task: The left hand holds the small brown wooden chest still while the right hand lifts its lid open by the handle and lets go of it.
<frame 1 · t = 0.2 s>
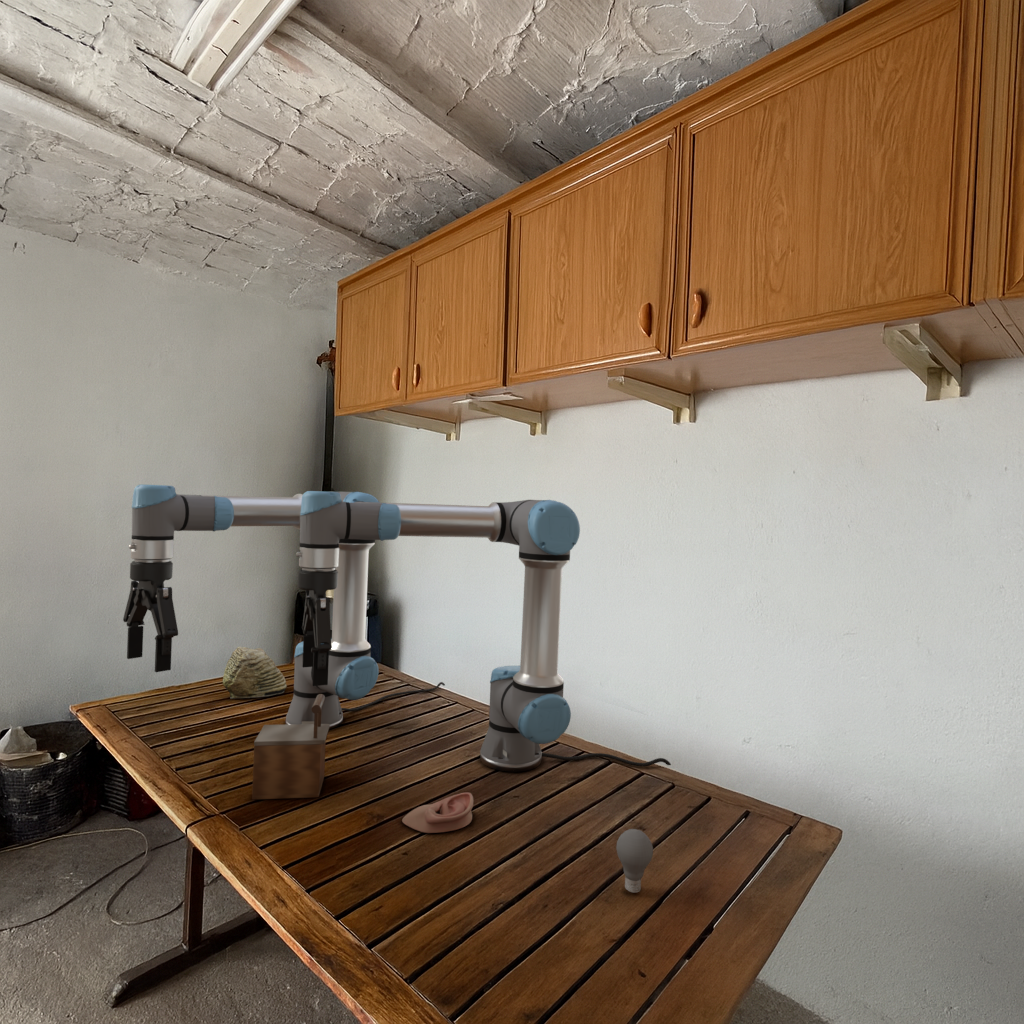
left hand: (148, 664, 129), 28 cm above the table, tool pointing down, fingers open, 13 cm apart
right hand: (314, 675, 126), 28 cm above the table, tool pointing down, fingers open, 13 cm apart
light bulb: (632, 891, 106), on the table
chest: (289, 787, 137), on the table
lid: (294, 717, 137), point 15 cm above the table, hinge at 0.0°
anatomical model: (438, 820, 126), on the table
fossil: (254, 694, 198), on the table
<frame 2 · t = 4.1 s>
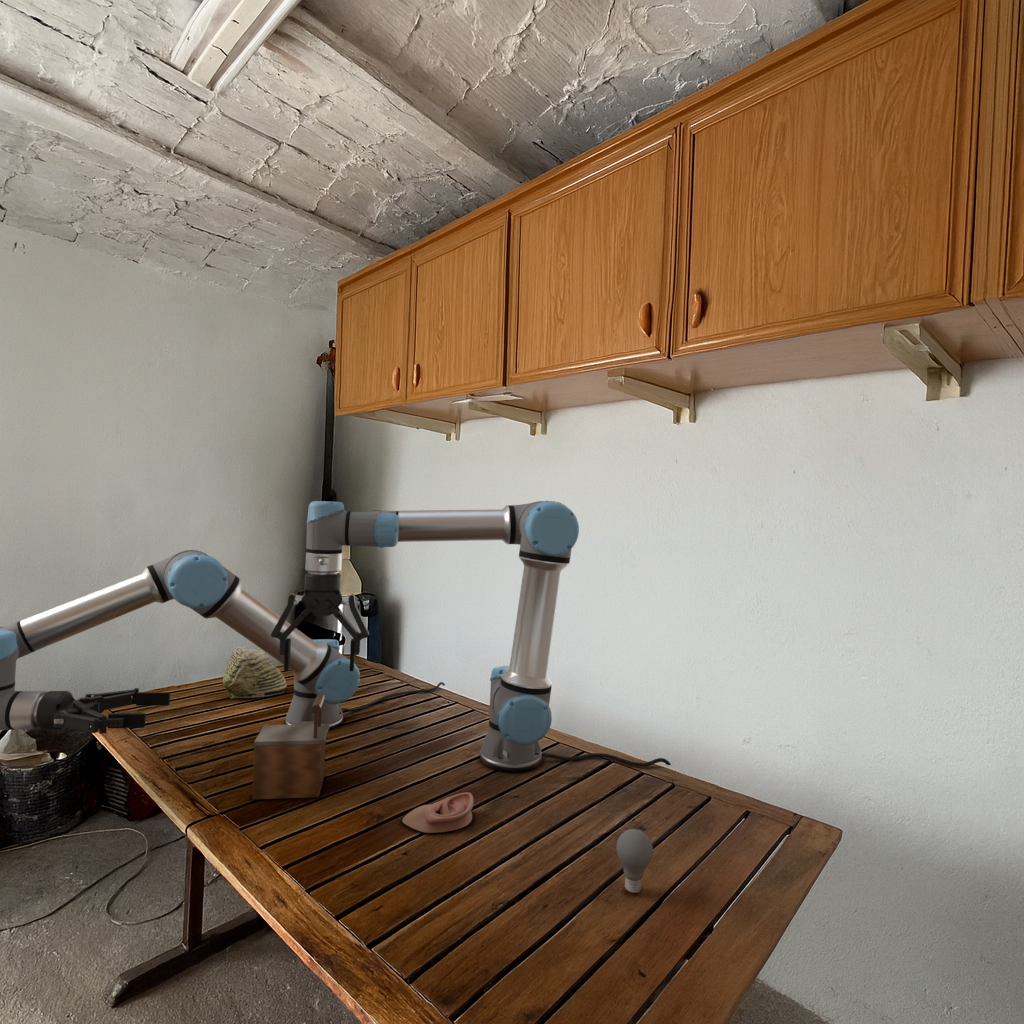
left hand: (157, 709, 132), 18 cm above the table, tool horizontal, fingers open, 13 cm apart
right hand: (319, 669, 138), 26 cm above the table, tool pointing down, fingers open, 13 cm apart
nothing on the table moved.
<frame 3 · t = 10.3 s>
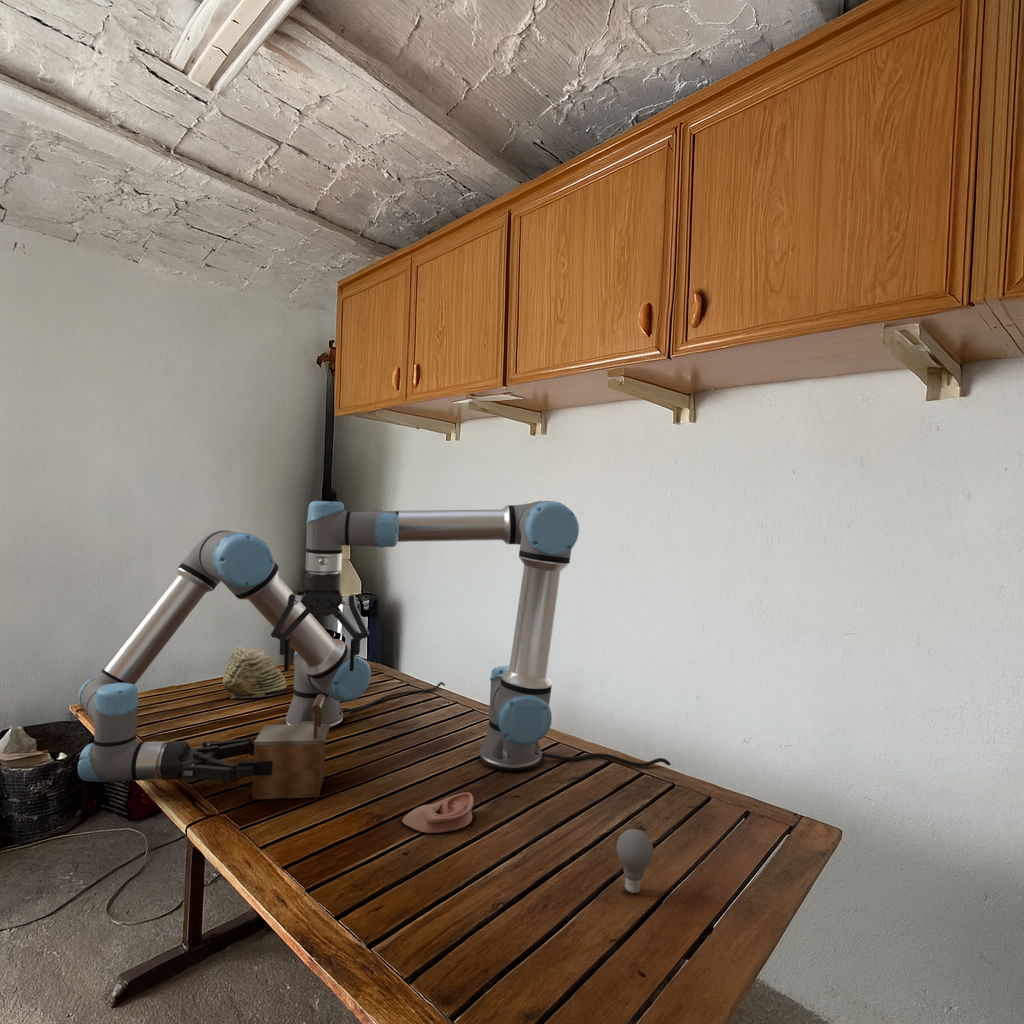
left hand: (276, 757, 137), 7 cm above the table, tool horizontal, fingers closed on chest, 10 cm apart
right hand: (319, 669, 138), 26 cm above the table, tool pointing down, fingers open, 13 cm apart
chest: (289, 787, 137), on the table, touching left hand
everything else where it was.
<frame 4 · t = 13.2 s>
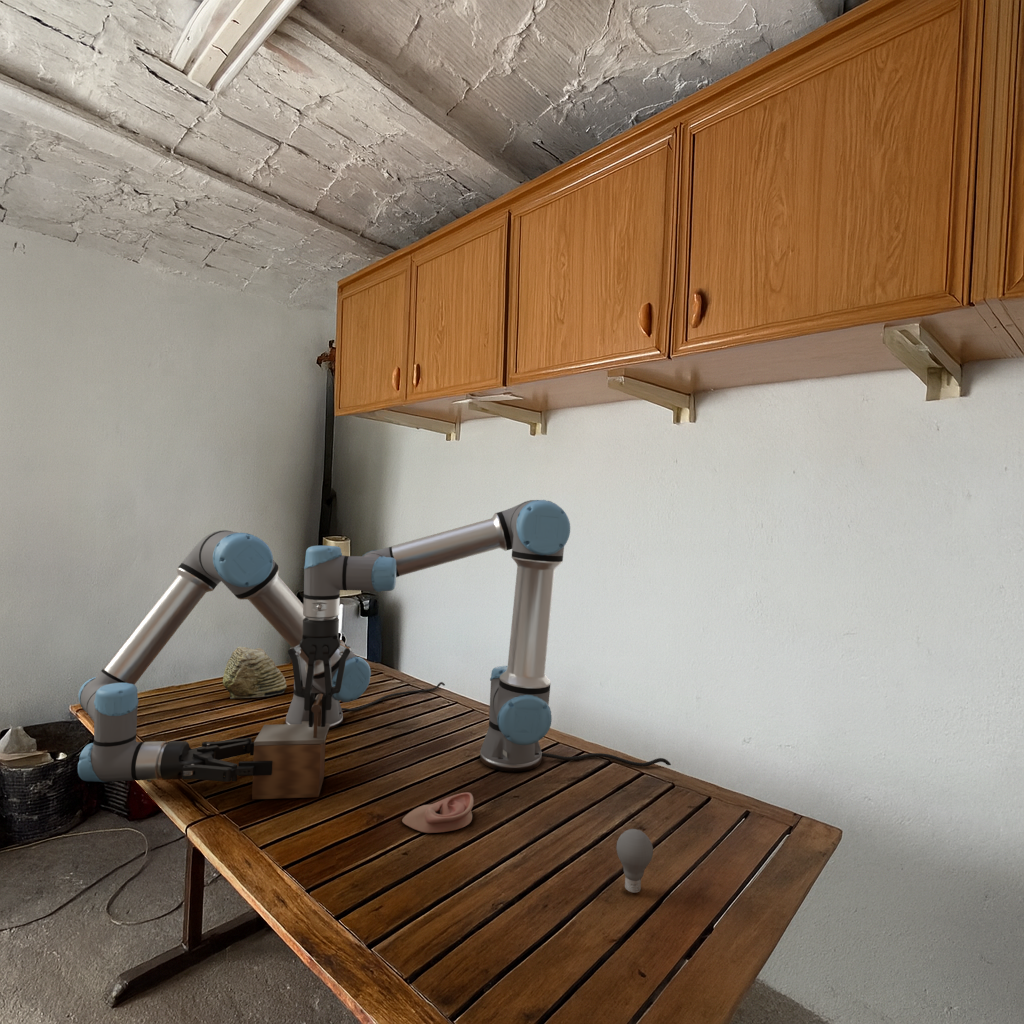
left hand: (276, 757, 137), 7 cm above the table, tool horizontal, fingers closed on chest, 10 cm apart
right hand: (317, 724, 138), 14 cm above the table, tool pointing down, fingers closed on lid, 2 cm apart
chest: (289, 787, 137), on the table, touching left hand
lid: (294, 717, 137), point 15 cm above the table, hinge at 0.3°, touching right hand
everything else where it was.
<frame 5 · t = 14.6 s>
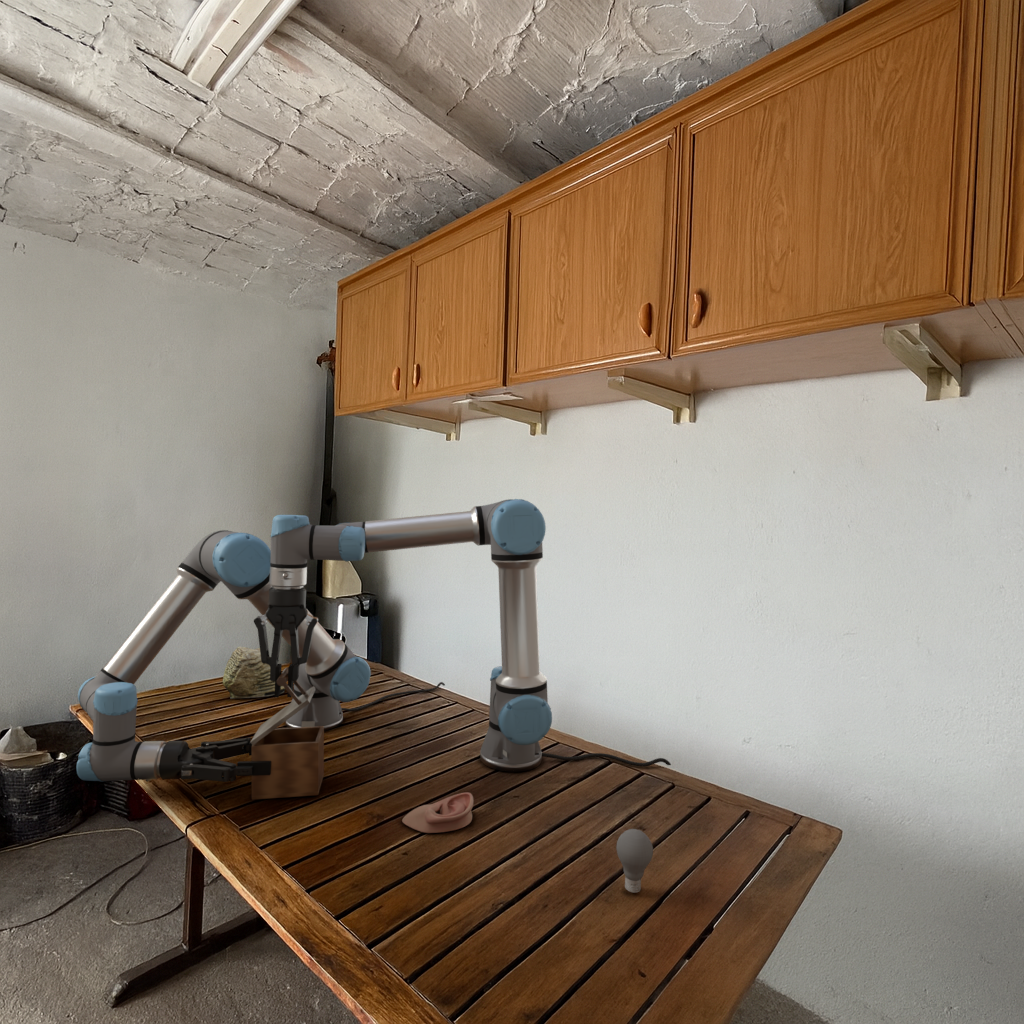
left hand: (275, 757, 136), 7 cm above the table, tool horizontal, fingers closed on chest, 10 cm apart
right hand: (283, 695, 136), 20 cm above the table, tool pointing down, fingers closed on lid, 2 cm apart
chest: (289, 786, 137), on the table, touching left hand
lid: (274, 701, 136), point 19 cm above the table, hinge at 36.3°, touching right hand
everything else where it was.
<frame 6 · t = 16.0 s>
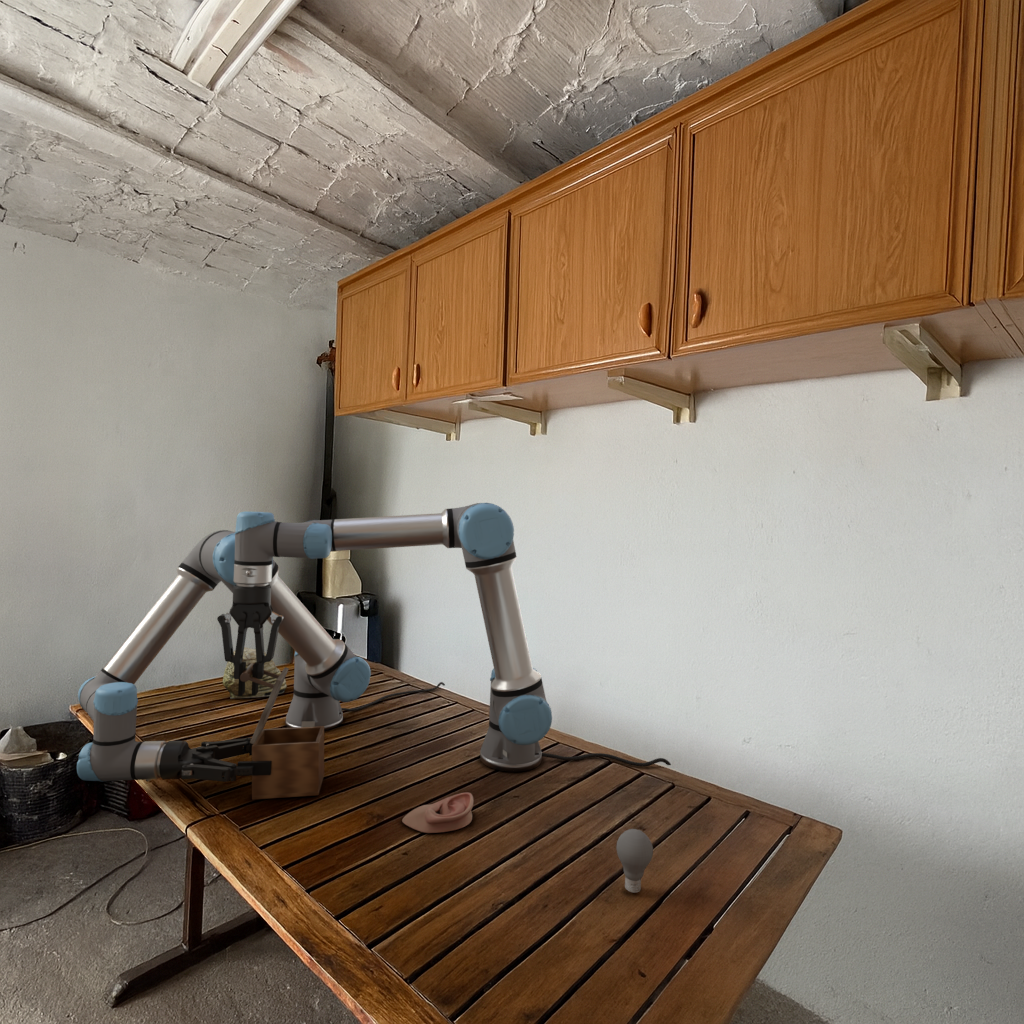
left hand: (275, 757, 137), 7 cm above the table, tool horizontal, fingers closed on chest, 10 cm apart
right hand: (248, 693, 135), 21 cm above the table, tool pointing down, fingers open, 2 cm apart
chest: (289, 786, 137), on the table, touching left hand
lid: (253, 698, 135), point 20 cm above the table, hinge at 67.9°
everything else where it was.
when the left hand's fingers open (7 cm above the table, at t = 20.4 s): chest stays where it is, on the table.
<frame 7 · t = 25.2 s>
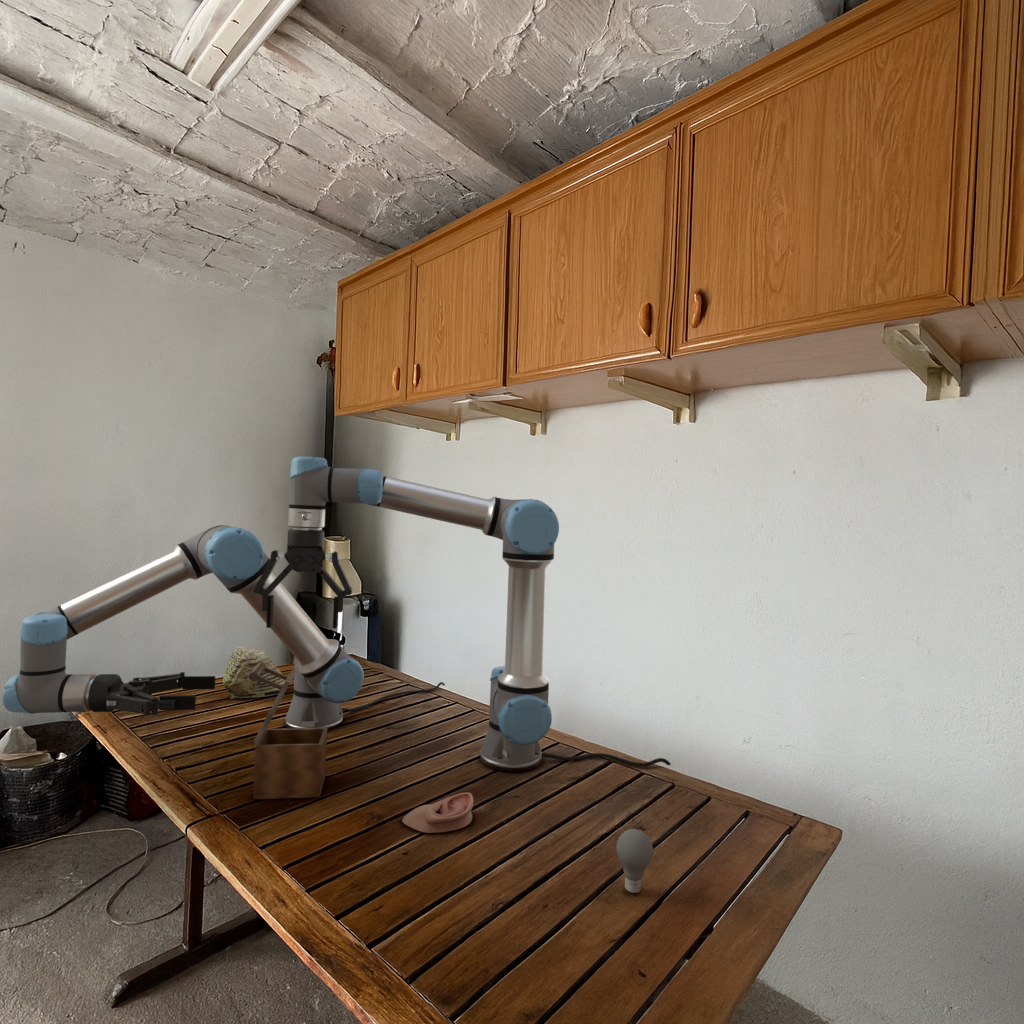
left hand: (205, 692, 134), 21 cm above the table, tool horizontal, fingers open, 13 cm apart
right hand: (302, 627, 137), 35 cm above the table, tool pointing down, fingers open, 13 cm apart
chest: (290, 787, 137), on the table
lid: (260, 698, 136), point 20 cm above the table, hinge at 65.4°
everything else where it was.
at the end: lid at +65° (first picture: +0°); the left hand is holding nothing; the right hand is holding nothing; chest tilted 0°; chest never tilted more than 3° during the clip; chest moved 0.2 cm from its start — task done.
